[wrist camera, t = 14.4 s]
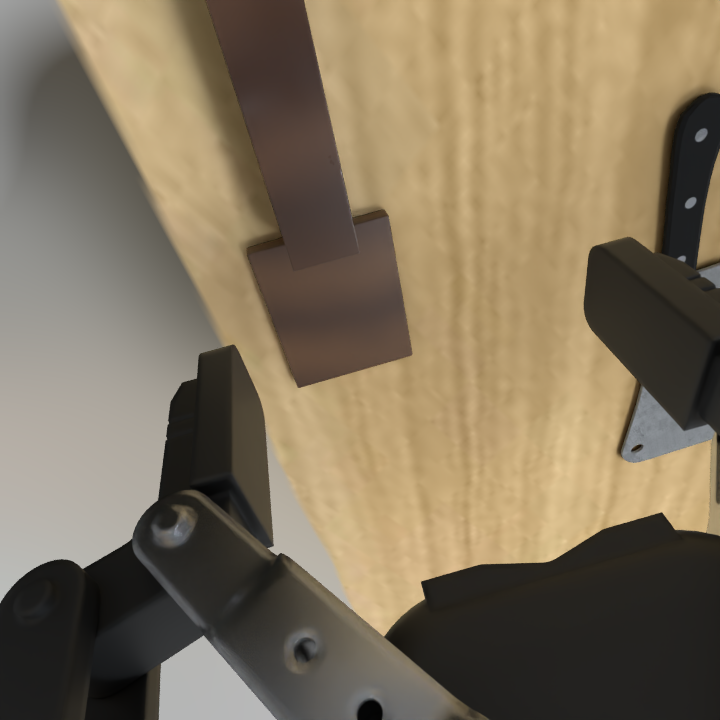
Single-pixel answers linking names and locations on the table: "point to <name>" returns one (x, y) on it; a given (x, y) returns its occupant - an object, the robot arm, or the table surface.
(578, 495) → the table surface
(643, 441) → the cleaver
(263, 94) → the spatula
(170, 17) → the table surface
